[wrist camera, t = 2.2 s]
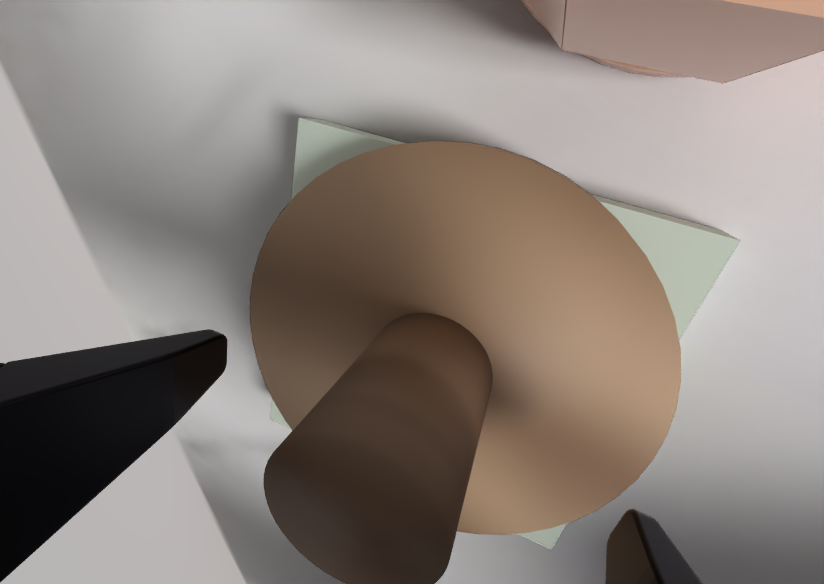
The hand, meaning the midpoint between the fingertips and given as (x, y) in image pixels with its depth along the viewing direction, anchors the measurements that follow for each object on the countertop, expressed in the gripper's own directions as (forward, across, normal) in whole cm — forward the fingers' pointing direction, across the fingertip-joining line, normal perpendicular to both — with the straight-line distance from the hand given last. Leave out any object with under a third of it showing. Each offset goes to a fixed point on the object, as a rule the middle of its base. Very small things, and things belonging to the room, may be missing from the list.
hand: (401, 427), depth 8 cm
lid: (+3, 0, 0) cm, 3 cm away
